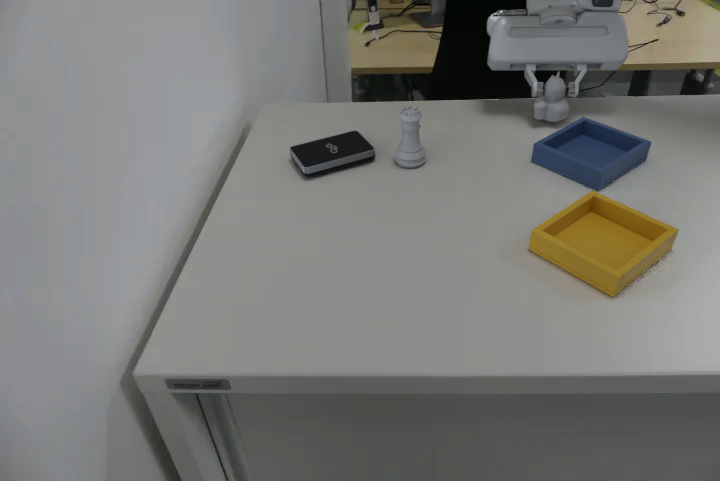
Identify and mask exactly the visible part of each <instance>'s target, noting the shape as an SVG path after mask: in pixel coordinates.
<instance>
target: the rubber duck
mask: <svg viewBox="0 0 720 481" xmlns="http://www.w3.org/2000/svg"><path fill="white" fill-rule="evenodd" d="M557 71H558V72H557V73H556V75H554V74H552V75H551V76H550V78H548V79H547V81H546V82H545V83H544V85H543V95H542V97H536V98H535V100H534V104H533V112H534V113H533V118H534V119H536V120H544V121H546V122H548V123H558V122H560V121H563V120H565V119H566V118H567V116H568V115H569V112H570V100H569V99H568V97H566V93H567V92H566V89H567V87H566V86H567V85H566V84H565V81H564V79H563V78H562V77H560V75H561V74H560V70H557Z"/></svg>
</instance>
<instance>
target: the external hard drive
mask: <svg viewBox="0 0 720 481" xmlns="http://www.w3.org/2000/svg"><path fill="white" fill-rule="evenodd" d="M289 154H290V158H291V159H292V161H293V162H294V164H295V165H296V167H297V168H298V169H299V170H300V172H301V174H302V175H303V176H304V177H305V178H307V179H309V178H312V177H316V176H321V175H323V174H324V175H325V174H328V173H331V172H334V171H338V170H343V169H346V168H349V167H350V168H351V167H353V166H356V165H361V164H363V163H367V162H371V161H374V160H375V159H376V147H375V146H374V145H373V144H372V143H371V142H370V141H369V140H368V139H367V138H366V137H365V136H364V135H363V134H362V133H361V131H359V130H357V129H356V130H355V129H354V130H350V131H346V132H342V133H338V134H333V135H330V136H326V137H322V138H318V139H315V140H310V141H306V142H302V143H298V144H294V145H291V146H289Z"/></svg>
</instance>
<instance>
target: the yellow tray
mask: <svg viewBox="0 0 720 481" xmlns="http://www.w3.org/2000/svg"><path fill="white" fill-rule="evenodd" d="M679 231H680V229H679V228H676V227H675V226H672V225H670V224H668V223H665V222H664V221H661V220H659V219H657V218H654V217H652V216H650V215H648V214H645V213H643V212H642V211H639V210H636V209H634V208H632V207H630V206H628V205H626V204H624V203H621V202H619V201H616V200H615V199H613V198H610V197H608V196H605V195H604V194H601V193H599V192H598V191H596V190H591V191H590V192H588V193H587V194H585V195H584V196H582V197H581V198H579V199H577V200H575V201H574V202H573V203H571V204H570V205H568V206H566V207H565V208H563V209H562V210H559V212H557V213H556V214H554V215H552V216H551V217H549V218H548V219H546V220H545V221H544V222H542V223H540V224H538V226H536V227H534V228H533V229H531V232H530V238H529V244H528V251H531V252H532V253H534V254H536V255H537V256H539V257H541V258H543V259H544V260H546V261H547V262H550V263H552V264H553V265H555V266H557V267H558V268H560V269H562V270H564V271H565V272H567V273H569V274H571V275H573V276H574V277H576V278H578V279H579V280H581V281H583V282H585V283H587V284H588V285H590V286H591V287H593V288H595V289H597V290H598V291H601V292H603V294H607V296H610V297H611V298H615V297H616V296H617V295H618V294H619V293H621V292H622V291H623V290H624V289H626V287H628V286H629V285H630V284H632V283H633V282H634V281H635V280H637V279H638V278H639V277H640V276H641V275H642V274H644V273H645V272H646V271H647V270H648V269H649V268H651V267H652V266H653V265H655V264H656V263H657V262H658V261H659V260H661V259H662V258H663V257H664V256H665V255H667V253H669V252H670V251H671V250H672V249H673V247H674V244H675V241H676V239H677V236H678V233H679Z"/></svg>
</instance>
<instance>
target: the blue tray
mask: <svg viewBox="0 0 720 481" xmlns="http://www.w3.org/2000/svg"><path fill="white" fill-rule="evenodd" d="M652 143H653V142H652V140H649V139H646V138H644V137H640V136H637V135H636V134H635V135H634V134H632V133H629V132H626V131H623V130H621V129H618V128H615V127H612V126H609V125H607V124H605V123H602V122H598V121H596V120H593V119H590V118H588V117H585V116H582V117H580V118H579V119H576V120H575V121H573V122H571V123H569V124H567V125H565V126H564V127H562V128H560V129H558V130H556V131H554V132H552V133H550V134H548V135H547V136H545V137H543V138H541V139H539V140H538V141H535V142H534V143H533V147H532V151H531V152H532V153H531V158H530V161H531V162H532V163H535V164H537V165H539V166H541V167H543V168H546V169H548V170H550V171H552V172H555V173H557V174H558V175H561V176H564V177H566V178H568V179H570V180H572V181H574V182H577V183H578V184H582V185H584V186H586V187H588V188H590V189H593V190H594V191H596V192H600V191H601V190H602V189H603V188H605V187H607V186H608V185H610V184H611V183H613V182H614V181H616V180H617V179H619V178H620V177H622V176H623V175H625V174H627V173H628V172H630V171H631V170H633V169H634V168H636V167H637V166H639V165H641V164H642V163H643V162H645V161H646V160H647V159H648V156H649V152H650V149H651V146H652Z"/></svg>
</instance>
